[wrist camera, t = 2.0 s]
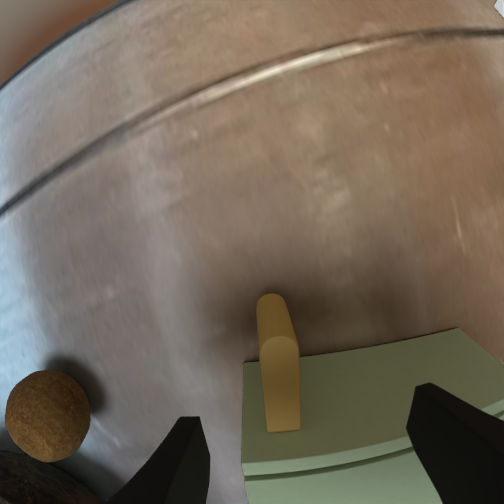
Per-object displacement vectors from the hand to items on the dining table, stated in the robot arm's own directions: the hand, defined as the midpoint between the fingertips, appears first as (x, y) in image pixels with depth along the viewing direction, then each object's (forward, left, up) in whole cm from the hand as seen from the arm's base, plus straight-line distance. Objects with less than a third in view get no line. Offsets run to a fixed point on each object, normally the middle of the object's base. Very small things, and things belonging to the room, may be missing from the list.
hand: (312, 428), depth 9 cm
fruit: (+17, +6, -11) cm, 21 cm away
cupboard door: (-5, +1, -10) cm, 12 cm away
